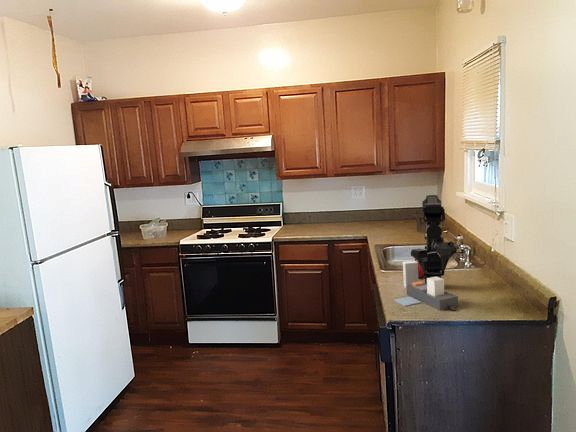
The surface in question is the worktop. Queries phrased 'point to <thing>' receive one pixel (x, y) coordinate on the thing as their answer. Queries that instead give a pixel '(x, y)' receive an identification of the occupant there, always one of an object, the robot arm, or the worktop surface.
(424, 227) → the clothes iron
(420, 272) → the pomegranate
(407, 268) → the skincare box
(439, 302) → the gray recessed block
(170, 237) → the worktop surface
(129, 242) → the worktop surface
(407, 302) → the mat
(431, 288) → the block
